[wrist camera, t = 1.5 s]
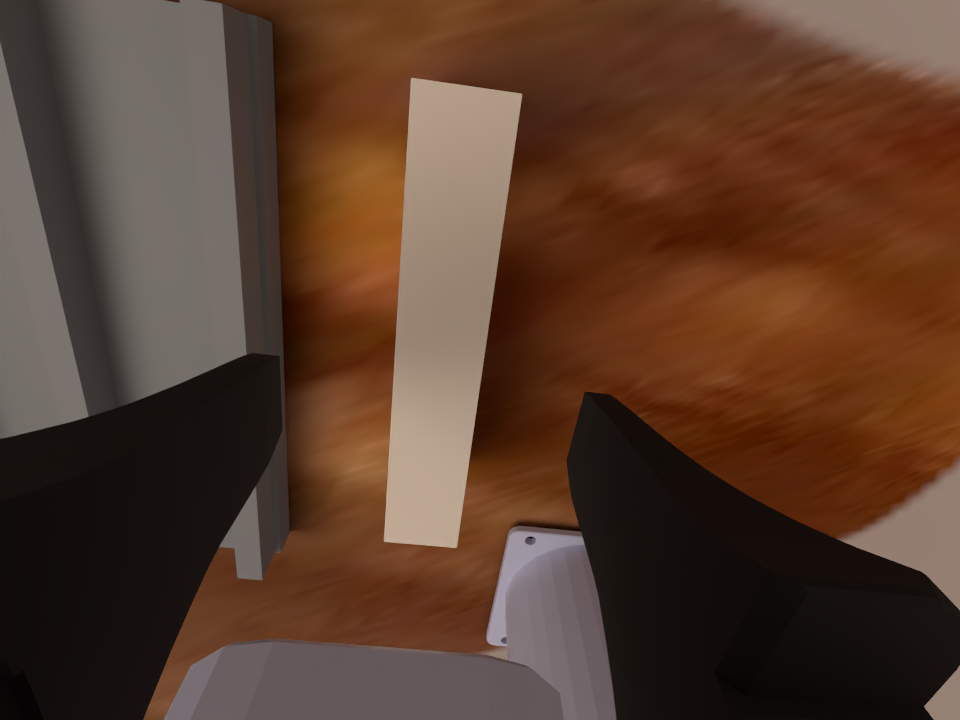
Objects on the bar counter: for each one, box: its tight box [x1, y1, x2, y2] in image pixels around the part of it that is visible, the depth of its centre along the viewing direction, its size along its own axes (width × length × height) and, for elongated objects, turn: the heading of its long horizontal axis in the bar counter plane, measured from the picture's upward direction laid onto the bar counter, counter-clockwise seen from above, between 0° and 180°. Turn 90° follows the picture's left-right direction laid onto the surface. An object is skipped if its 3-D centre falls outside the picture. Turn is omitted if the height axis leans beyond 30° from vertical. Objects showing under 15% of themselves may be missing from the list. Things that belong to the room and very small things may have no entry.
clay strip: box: [384, 78, 522, 548], centre depth 17 cm, size 14×2×5 cm, turn 173°
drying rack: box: [0, 0, 290, 580], centre depth 17 cm, size 18×20×3 cm
